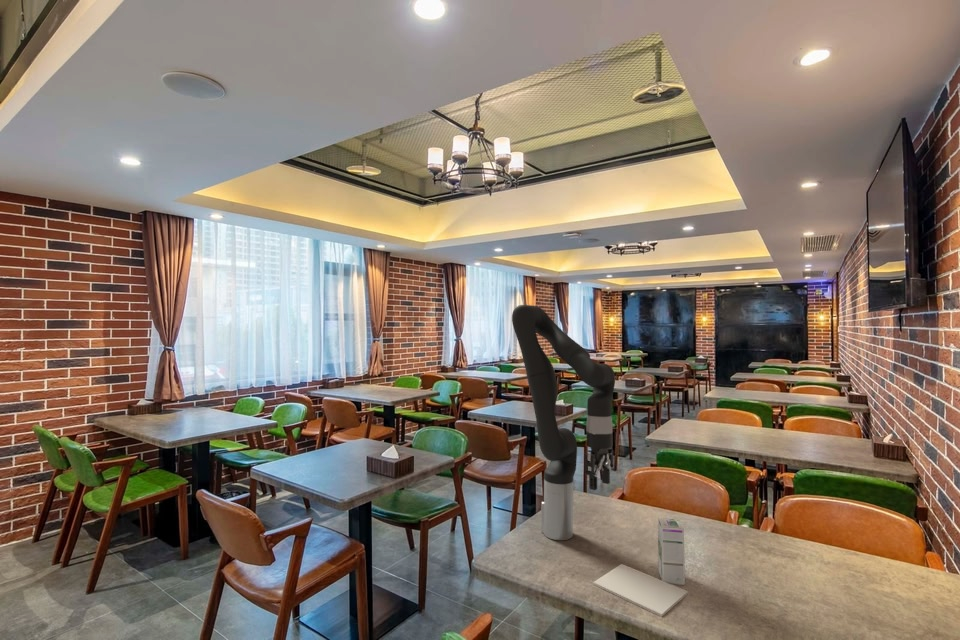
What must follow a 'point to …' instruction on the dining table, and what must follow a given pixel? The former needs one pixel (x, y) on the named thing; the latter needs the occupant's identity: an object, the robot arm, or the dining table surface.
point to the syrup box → (671, 551)
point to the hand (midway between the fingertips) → (599, 486)
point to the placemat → (641, 589)
